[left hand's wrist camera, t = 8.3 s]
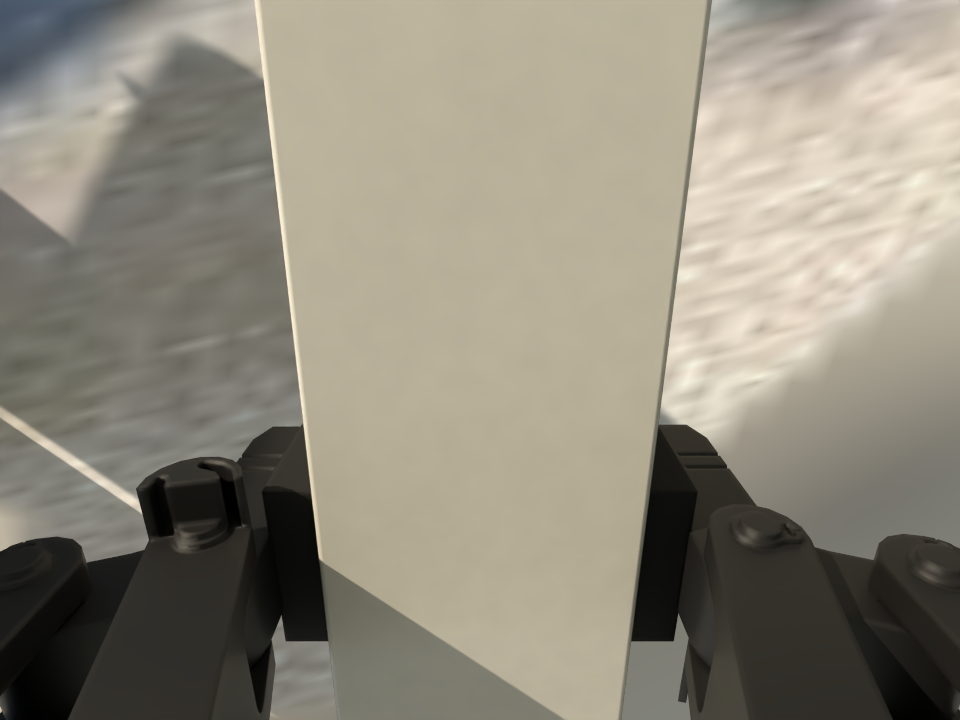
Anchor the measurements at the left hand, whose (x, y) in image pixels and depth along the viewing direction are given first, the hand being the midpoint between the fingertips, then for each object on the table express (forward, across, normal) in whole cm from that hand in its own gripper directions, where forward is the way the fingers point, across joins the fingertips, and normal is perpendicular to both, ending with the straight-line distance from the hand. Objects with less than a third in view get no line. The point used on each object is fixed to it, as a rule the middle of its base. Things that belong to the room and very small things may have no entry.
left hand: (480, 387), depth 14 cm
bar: (+1, 0, -24) cm, 24 cm away
